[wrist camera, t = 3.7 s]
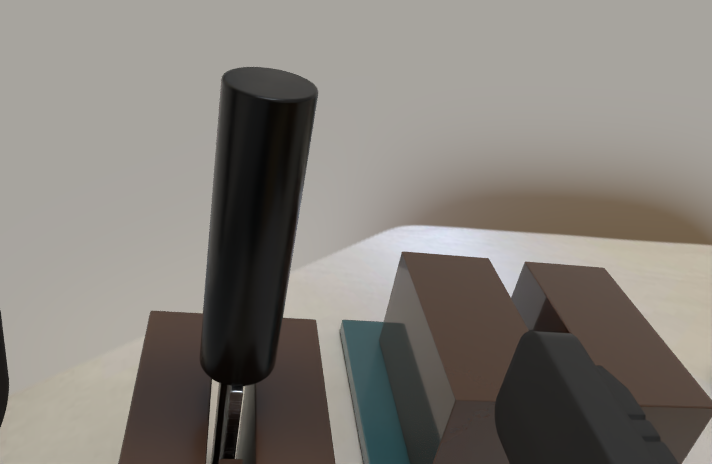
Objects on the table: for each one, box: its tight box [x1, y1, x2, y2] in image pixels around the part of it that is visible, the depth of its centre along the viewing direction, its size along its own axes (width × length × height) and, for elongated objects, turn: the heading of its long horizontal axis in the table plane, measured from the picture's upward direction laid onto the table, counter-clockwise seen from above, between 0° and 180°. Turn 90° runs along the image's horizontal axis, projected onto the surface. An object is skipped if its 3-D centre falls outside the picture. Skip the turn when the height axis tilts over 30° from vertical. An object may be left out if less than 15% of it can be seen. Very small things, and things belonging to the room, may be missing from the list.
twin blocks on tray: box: [340, 252, 712, 464], centre depth 37 cm, size 16×18×8 cm
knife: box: [200, 67, 318, 459], centre depth 23 cm, size 3×3×22 cm
